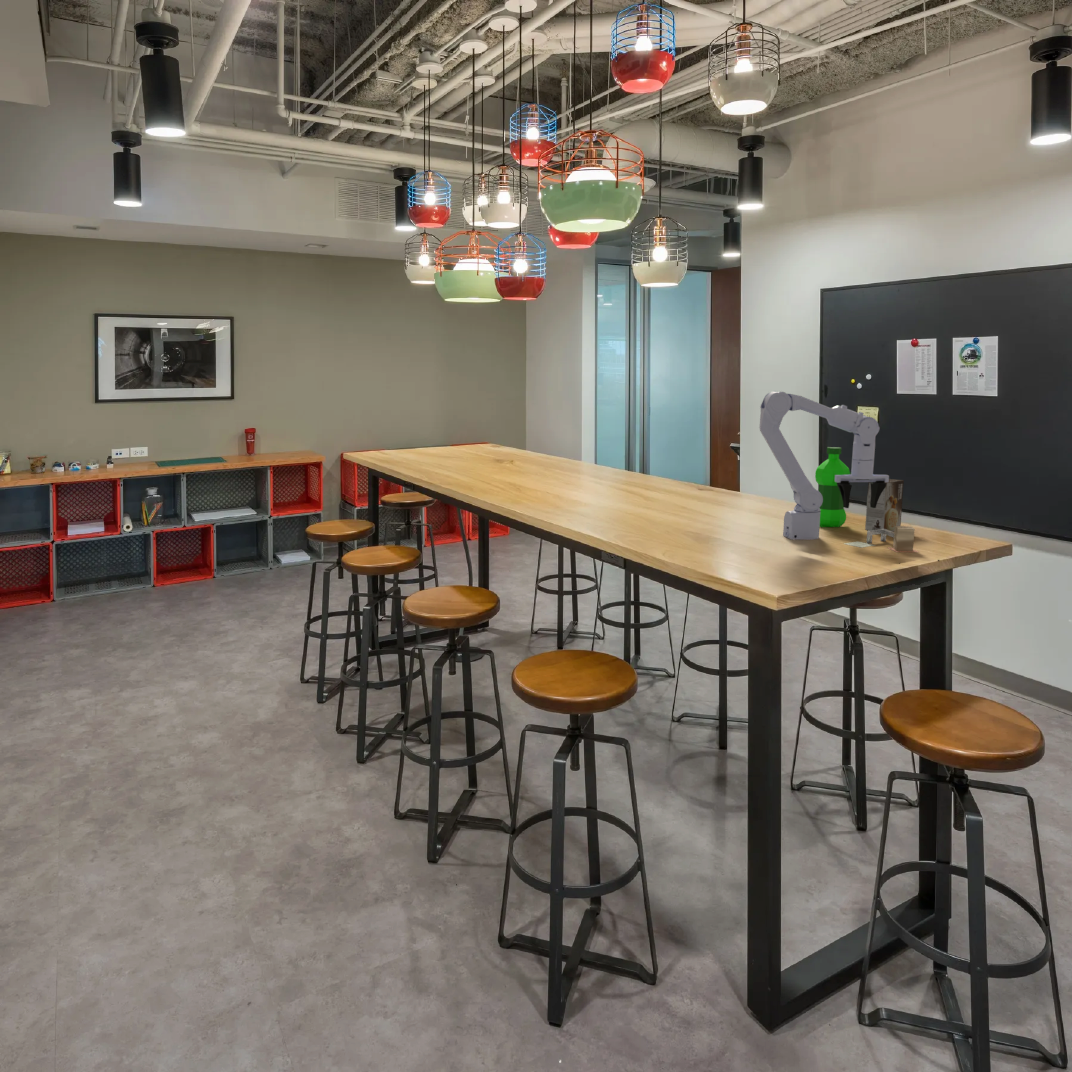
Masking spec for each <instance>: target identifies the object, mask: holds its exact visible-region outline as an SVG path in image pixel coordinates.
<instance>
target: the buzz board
mask: <svg viewBox="0 0 1072 1072" xmlns="http://www.w3.org/2000/svg"><path fill="white" fill-rule="evenodd" d="M843 544H844V545H847V546H853V547H856V548H857V547H858V548H866V547H867V548H868V547H873V546H876V544H873V543H871V544H868V543H866V542H862V541H853V542H852V541H851V542H845V543H843ZM887 549H889V550H891V551H894V552H895V553H919V551H918V550H917V549H914V548H913V552H912V551H896V550H895V549H894V548H893V546H892V547H889V546H888V547H887Z"/></svg>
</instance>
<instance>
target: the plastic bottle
mask: <svg viewBox="0 0 1072 1072" xmlns="http://www.w3.org/2000/svg"><path fill="white" fill-rule="evenodd" d="M826 454H827V455H828V458H827V459H826V460H824V461H823V462H822V463H820V465H818V466H817V468H816V470H815V474H814V475H815V477H814V478H815V481H816V483H817V484H818V491H819V492H820V493H821V494H822V497H823V502H822V505H821V506H820V509H821V511H820V527H819V528H841V527H842V526H843V525H844V524H845V523H846V521H847V513H846V510H845V508H844V506H843V500H842V496H841V493H840V490H839V488H838V486H837V482H835V475H848V474H851V470H850V468H849V467H848V466H847V465H846V464H845V463H844V462H843V461H842V460H841V459H840V455H842V447H839V446H838V447H835V446H833V447H831V446H827V447H826Z"/></svg>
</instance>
